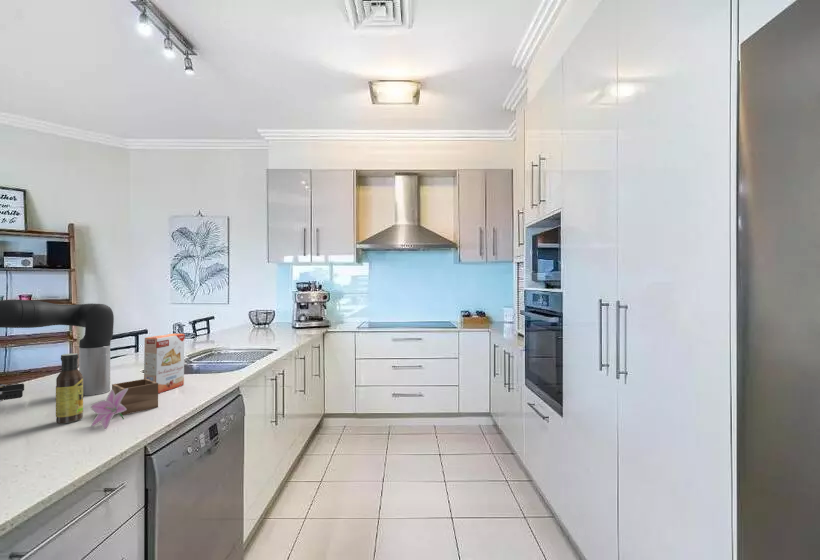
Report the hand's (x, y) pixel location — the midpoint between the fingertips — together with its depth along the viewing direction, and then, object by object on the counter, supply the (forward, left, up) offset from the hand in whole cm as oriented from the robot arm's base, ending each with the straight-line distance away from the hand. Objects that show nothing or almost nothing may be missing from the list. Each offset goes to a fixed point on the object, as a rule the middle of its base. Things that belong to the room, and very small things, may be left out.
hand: (23, 390), depth 114 cm
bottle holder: (+3, +26, -11) cm, 29 cm away
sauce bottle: (+2, +10, -11) cm, 15 cm away
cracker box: (-14, +42, -11) cm, 46 cm away
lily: (+14, +17, -11) cm, 24 cm away
